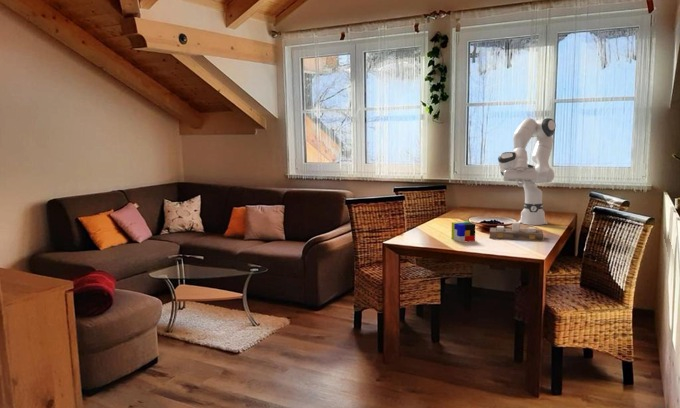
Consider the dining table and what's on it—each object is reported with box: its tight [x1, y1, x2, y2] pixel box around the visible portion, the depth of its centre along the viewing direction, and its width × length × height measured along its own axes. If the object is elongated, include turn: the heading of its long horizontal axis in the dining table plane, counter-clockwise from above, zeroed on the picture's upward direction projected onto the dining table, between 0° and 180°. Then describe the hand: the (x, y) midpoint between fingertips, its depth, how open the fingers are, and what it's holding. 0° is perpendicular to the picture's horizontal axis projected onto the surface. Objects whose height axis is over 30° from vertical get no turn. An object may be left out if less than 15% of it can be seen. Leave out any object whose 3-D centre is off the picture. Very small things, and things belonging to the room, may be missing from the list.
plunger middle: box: [511, 221, 521, 232], centre depth 309 cm, size 4×4×6 cm
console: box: [489, 227, 544, 242], centre depth 310 cm, size 12×30×4 cm, turn 73°
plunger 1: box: [496, 225, 505, 231], centre depth 312 cm, size 4×4×6 cm
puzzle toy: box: [451, 220, 476, 243], centre depth 305 cm, size 10×10×10 cm
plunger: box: [527, 226, 537, 232], centre depth 307 cm, size 4×4×6 cm
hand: (520, 186), depth 320 cm, fingers closed
